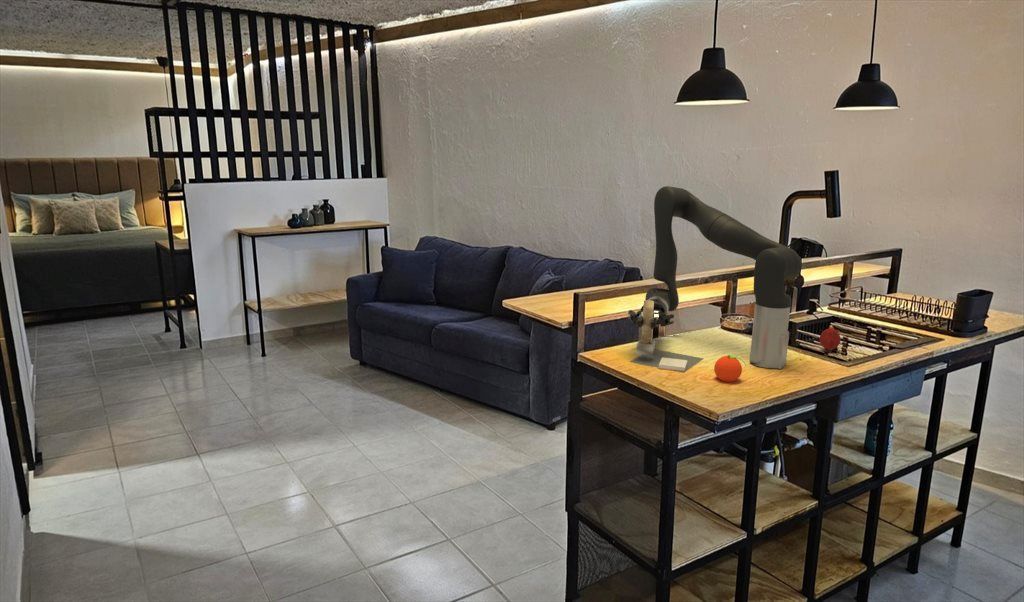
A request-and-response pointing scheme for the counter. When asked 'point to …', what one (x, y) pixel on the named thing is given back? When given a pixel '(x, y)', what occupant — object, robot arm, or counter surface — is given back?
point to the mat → (658, 355)
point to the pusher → (646, 330)
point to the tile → (673, 364)
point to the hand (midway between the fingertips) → (646, 324)
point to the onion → (830, 338)
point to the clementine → (728, 368)
